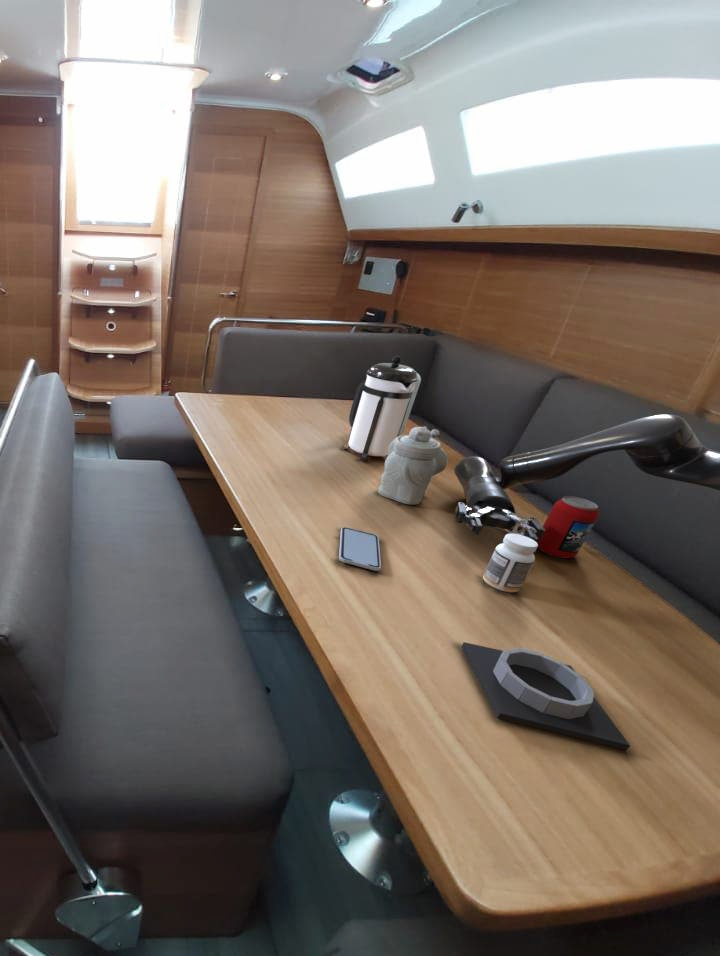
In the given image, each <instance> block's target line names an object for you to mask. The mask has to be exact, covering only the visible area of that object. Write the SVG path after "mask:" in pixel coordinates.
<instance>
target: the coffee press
mask: <svg viewBox="0 0 720 956" xmlns="http://www.w3.org/2000/svg"><path fill="white" fill-rule="evenodd" d="M391 360H392V362H381V363H375V364H374V365H372V366H371V367H370V368H369V369H368V370H367V371H366V379H364V380H362V381H361V382H360V383H359V384H358V386H357V388H356V390H355V394H354V396H353V397H354V398H353V401H352V403H351V407H350V411H349V417H348V421H349V426H350V427H351V428H350V433H349V435H348V439H347V441H346V442H344V443H343V444H342V445H341V449H343V450H348V449H351V450H353V451H355V452H357V453H359V454H361V455H360V459H359V461H363V462H366V461H367V458H368V456H369V457H386V458H387V457H388V447H389V445H390V444H391V442H392V441H393V440H394V439H396V438H397V437H398V436H399V433H400V430H401V427H402V424H403V421H404V418H405V415H406V412H407V409H408V406H409V403H410V400H409V399H411V396H412V393H413V387H414V384H415V383H416V382H417V381H418V377H417V373H418V372H417V371H416V370H415V369H414V368H413V367H411V366H408V365H405V364H400V363H401V362H402V357H401V356H399V355H395V356H393V357H392V359H391ZM408 402H409V403H408ZM346 444H348V446H347V447H344V445H346Z"/></svg>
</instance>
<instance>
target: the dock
mask: <svg viewBox="0 0 720 956" xmlns="http://www.w3.org/2000/svg"><path fill="white" fill-rule="evenodd" d="M461 648H462V651H463V652H464V655H465V656H466V659H467V660H468V662H469V665H470V666H471V668H472V670H473V673H474V675H475V677H476V678H477V681H478V682H479V685H480V686H481V688H482V691H483V692H484V695H485V697H486V698H487V700H488V702H489V705H490V706H491V708H492V710H493V713H494V714H495V716H496V718H497V719H499V720H503V721H507V722H512V723H516V724H518V725H523V726H527V727H530V728H535V729H540V730H542V731H546V732H551V733H554V734H555V733H556V734H558V735H563V736H567V737H571V738H576V739H578V740H582V741H587V742H590V743H595V744H597V745H602V746H606V747H610V748H614V749H619V750H623V751H628V749H630V746H631V744H630V743H629V742H628V740H627V739H626V737H624V735H623V734H622V732H621V731H620V730H619V728H618V727H617V725H615V723H614V722H613V720H612V719H611V718H610V716H609V714H608V713H607V712H606V711H605V710H604V708H603V706H601V704H600V703H599V701H598V700H597V699H596V697H595V691H594V689H592V687H591V685H590V684H589V683H588V681H587V680H586V679H585V678H584V677H583V675H581V674H579V673H578V672H576V670H575V669H574V667H572V665H570V664H567V663H566V664H565V663H563V662H562V661H558V660H556V659H554V658H552V657H550V656H547V655H545V654H544V653H540V652H538V651H534V650H529V649H524V648H521V647H520V648H519V647H515V648H510V649H504V650H502V649H497V648H493V647H488V646H483V645H480V644H475V643H469V642H465V641H464V642H463V643H462V645H461Z"/></svg>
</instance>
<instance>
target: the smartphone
mask: <svg viewBox="0 0 720 956" xmlns="http://www.w3.org/2000/svg"><path fill="white" fill-rule="evenodd" d="M339 536H340V537H339V553H338V559H339V561H340V562H343V563H346V564H348V565H353V566H356V567H360V568H363V569H368V570H371V571H375V572H379V571H380V570H381V568H382V563H381V562H382V561H381V549H380V537H379V535H378V534H375V533H372V532H368V531H364V530H359V529H356V528H351V527H347V526H342V527H341V528H340V535H339Z"/></svg>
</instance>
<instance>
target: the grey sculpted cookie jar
mask: <svg viewBox="0 0 720 956" xmlns="http://www.w3.org/2000/svg"><path fill="white" fill-rule="evenodd" d="M439 435H440V431H439V430H438V429H435V428H433V429H432V430H431V431H430V430H429V429H428V427H427V426H415V427H413V428H411V429H410V431H409V433H408V434H401V435H400V436H398V437H397V438H396V439H394V440H393V441H392V442H391V444H390V445H389V447H388V457H387V456H386V459H385V461H384V471H383V472H382V475H381V478H380V485H379V487H378V488H379V489H378V494H379V495H380V496H382V497H384V498H388V499H390V500H393V501H397V502H399V503H402V504H405V505H410V506H414V505H419V504H420V503H421V502H422V499H423V497H424V496H425V494H426V491H427V488H428V487H429V485H430V483H431V482H430V481H431V479H432V477H434V476H435V475H438V474H440V473H442V472H444V471H445V469H446V468H447V464H448V454H447V452H446V451H445V450H444V448H442V447H441V445H442V444H441V442H440V441H438V440H436V439H435V438H436V437H437V436H439Z"/></svg>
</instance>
